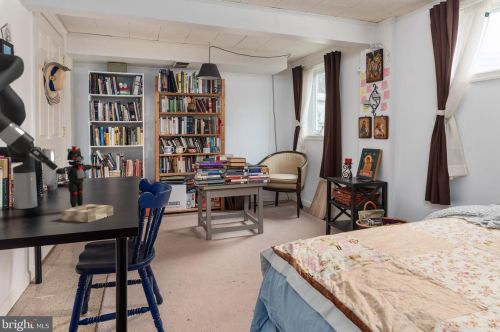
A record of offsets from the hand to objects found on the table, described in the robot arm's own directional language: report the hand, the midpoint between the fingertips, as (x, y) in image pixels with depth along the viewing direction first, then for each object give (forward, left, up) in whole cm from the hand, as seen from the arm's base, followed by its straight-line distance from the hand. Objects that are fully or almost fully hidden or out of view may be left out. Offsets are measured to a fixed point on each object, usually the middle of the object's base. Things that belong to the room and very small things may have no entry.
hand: (54, 167), depth 136 cm
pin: (-1, -2, -6) cm, 7 cm away
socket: (+5, +10, -22) cm, 25 cm away
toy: (-9, +18, -22) cm, 30 cm away
